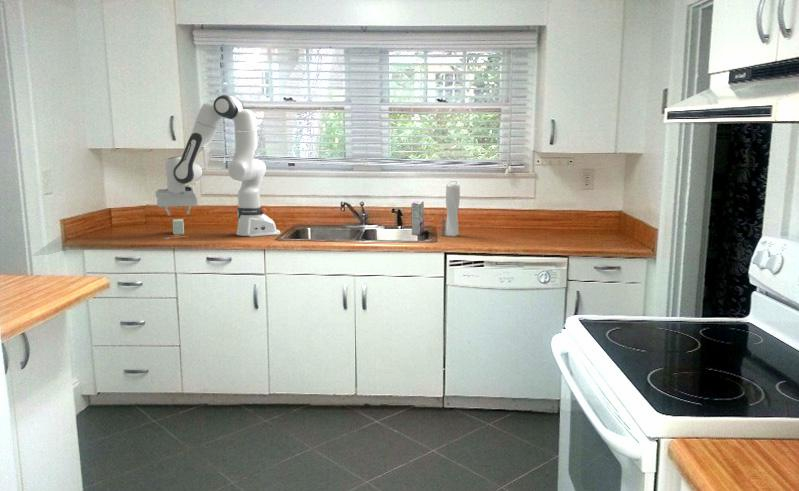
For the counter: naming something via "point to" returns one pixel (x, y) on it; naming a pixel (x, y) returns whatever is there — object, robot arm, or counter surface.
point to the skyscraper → (451, 210)
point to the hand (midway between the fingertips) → (178, 214)
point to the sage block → (178, 226)
